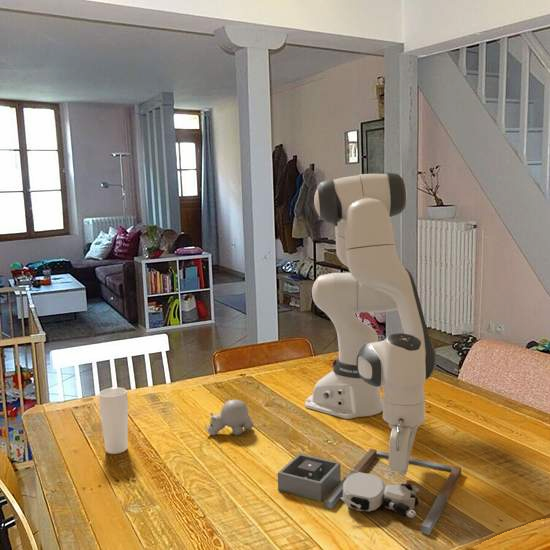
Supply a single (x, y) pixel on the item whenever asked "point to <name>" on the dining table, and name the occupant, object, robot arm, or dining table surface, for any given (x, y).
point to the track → (372, 453)
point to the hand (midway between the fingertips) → (403, 471)
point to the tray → (309, 487)
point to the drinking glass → (114, 419)
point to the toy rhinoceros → (231, 418)
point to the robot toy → (378, 494)
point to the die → (310, 470)
